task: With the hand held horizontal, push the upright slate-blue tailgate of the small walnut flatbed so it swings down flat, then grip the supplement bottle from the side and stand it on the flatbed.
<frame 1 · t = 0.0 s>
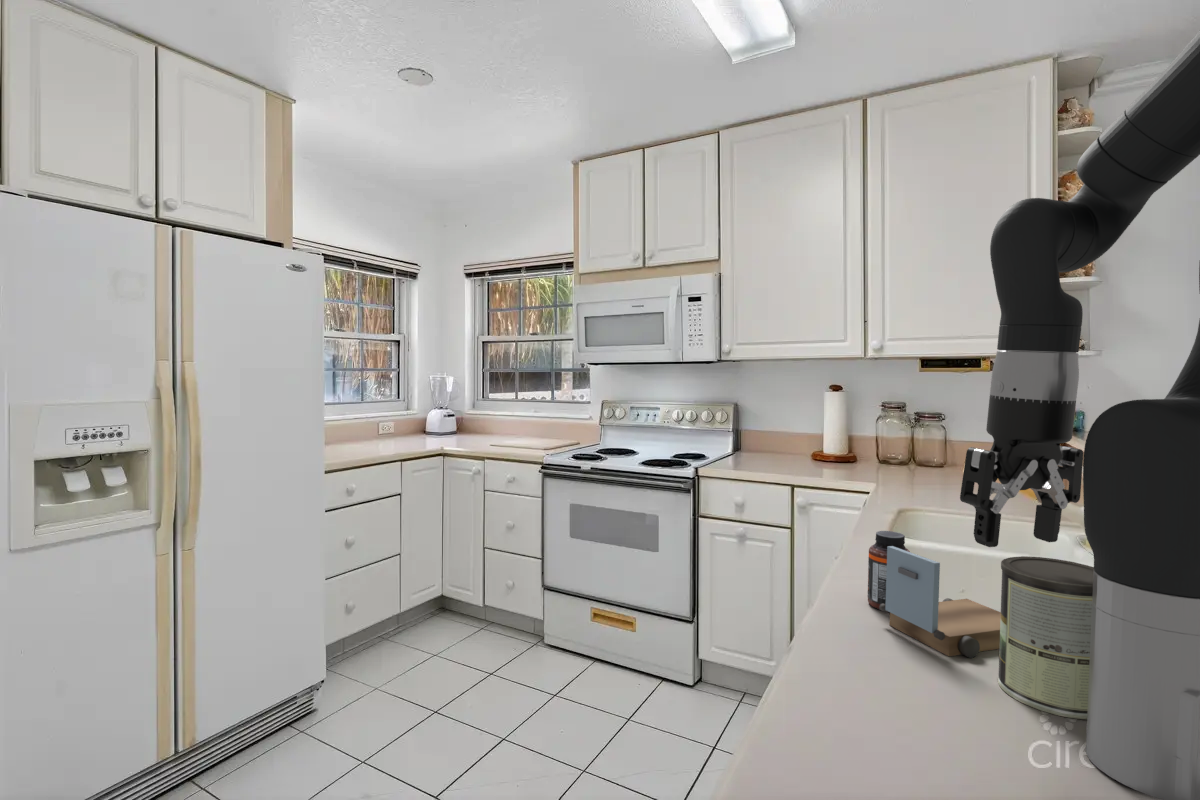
hand: (1016, 542, 66), 17 cm above the counter, tool pointing down, fingers open, 8 cm apart
supplement bottle: (888, 607, 93), on the counter
tailgate: (910, 587, 81), point 7 cm above the counter, hinge at 0.0°
coffee can: (1051, 696, 67), on the counter
flatbed: (958, 634, 83), on the counter
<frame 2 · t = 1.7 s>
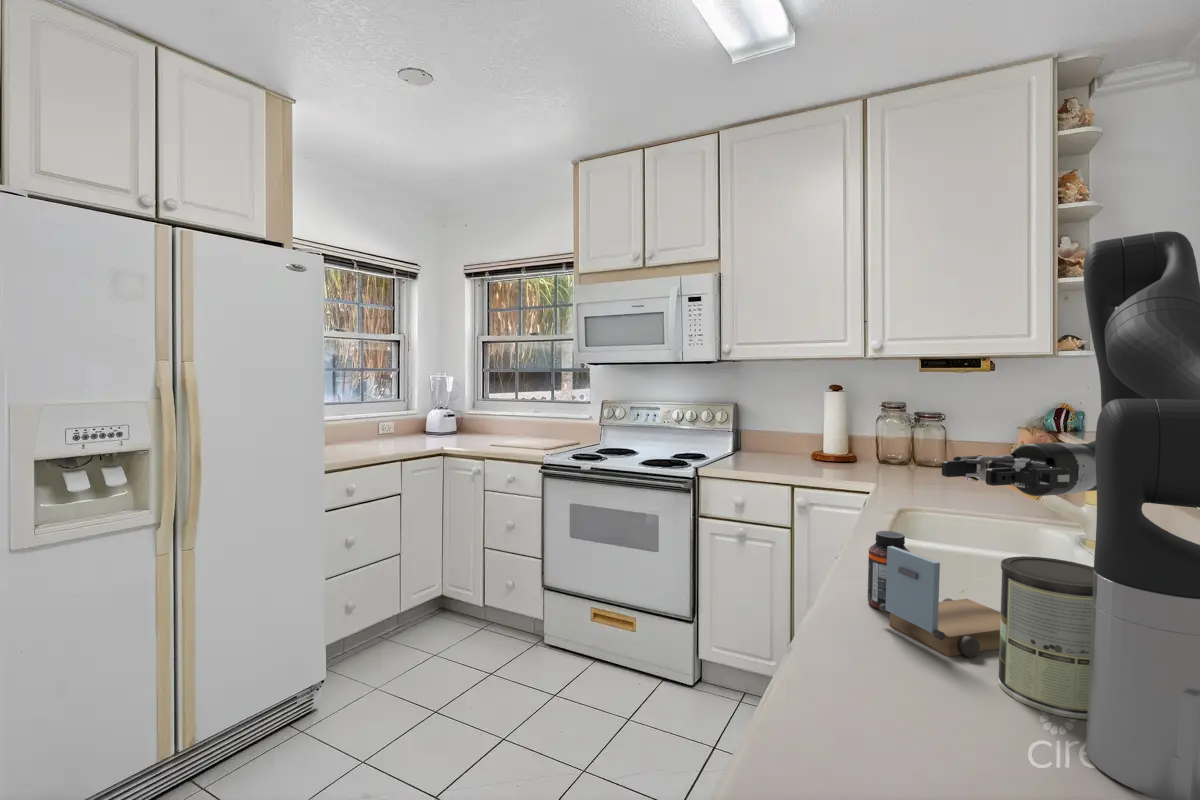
hand: (965, 473, 83), 22 cm above the counter, tool horizontal, fingers open, 6 cm apart
nothing on the counter moved.
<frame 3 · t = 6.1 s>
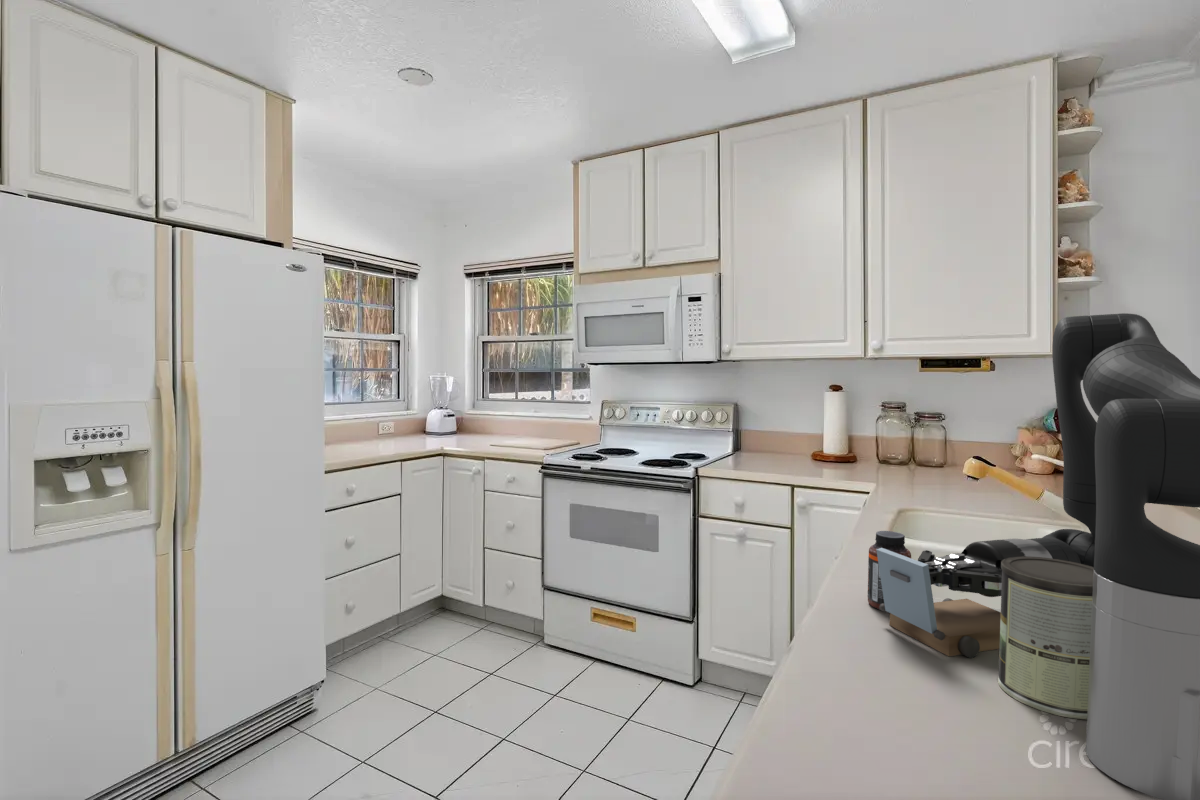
hand: (907, 577, 81), 8 cm above the counter, tool horizontal, fingers closed
tailgate: (904, 589, 81), point 7 cm above the counter, hinge at 12.1°, touching gripper
everything else where it was.
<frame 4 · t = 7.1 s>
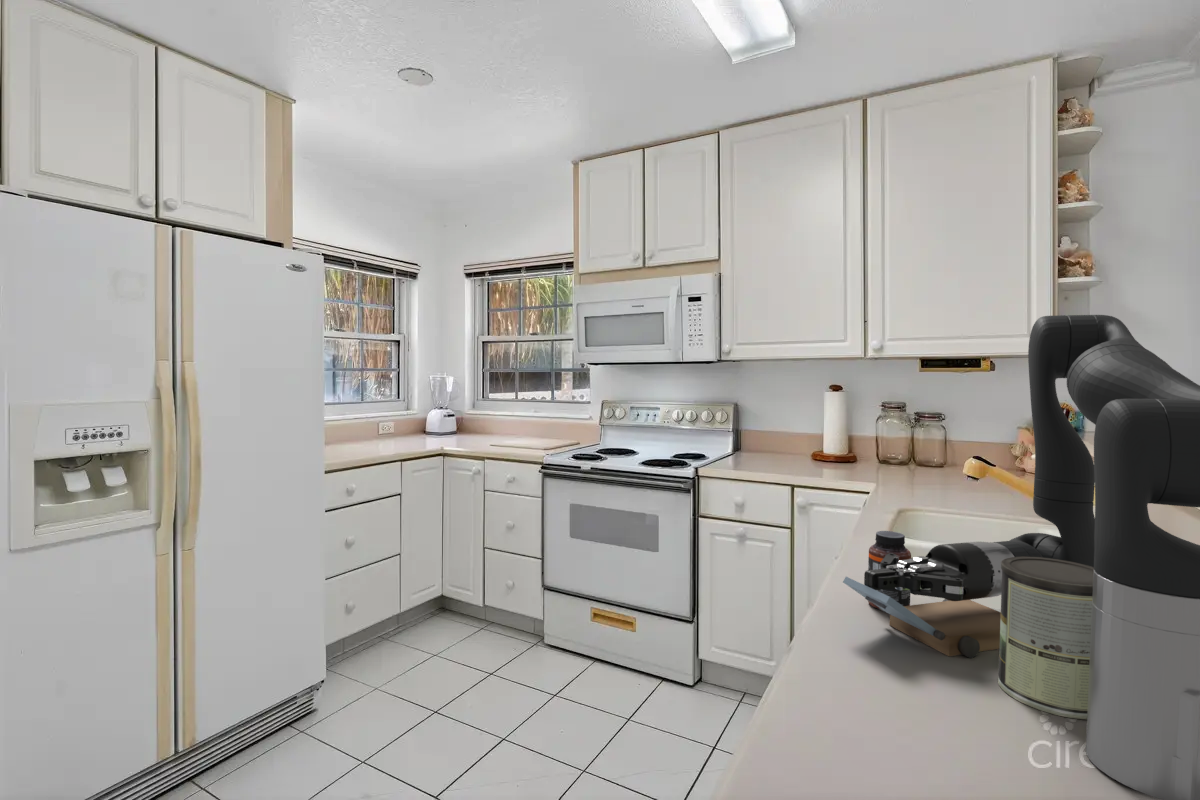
hand: (868, 580, 79), 9 cm above the counter, tool horizontal, fingers closed
tailgate: (887, 606, 80), point 5 cm above the counter, hinge at 56.6°
everything else where it was.
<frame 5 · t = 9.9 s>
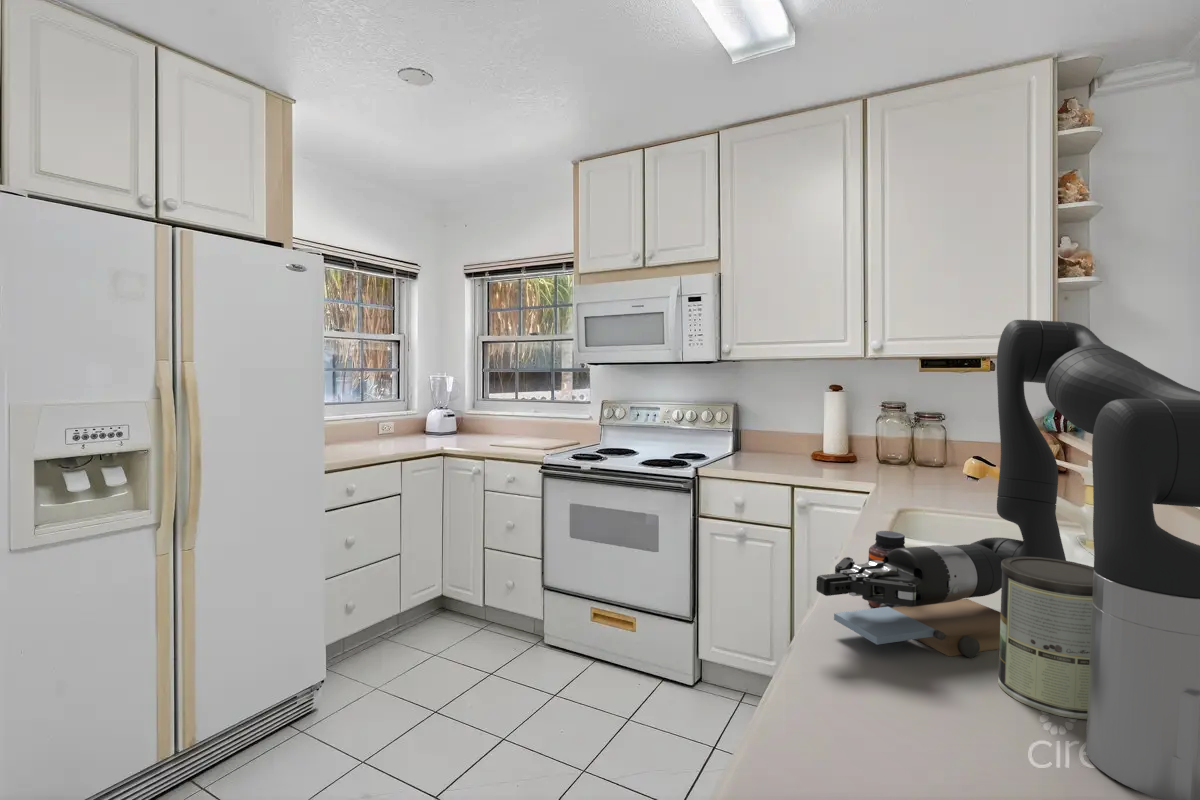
hand: (820, 585, 77), 8 cm above the counter, tool horizontal, fingers closed
tailgate: (882, 625, 80), point 2 cm above the counter, hinge at 90.2°
everything else where it was.
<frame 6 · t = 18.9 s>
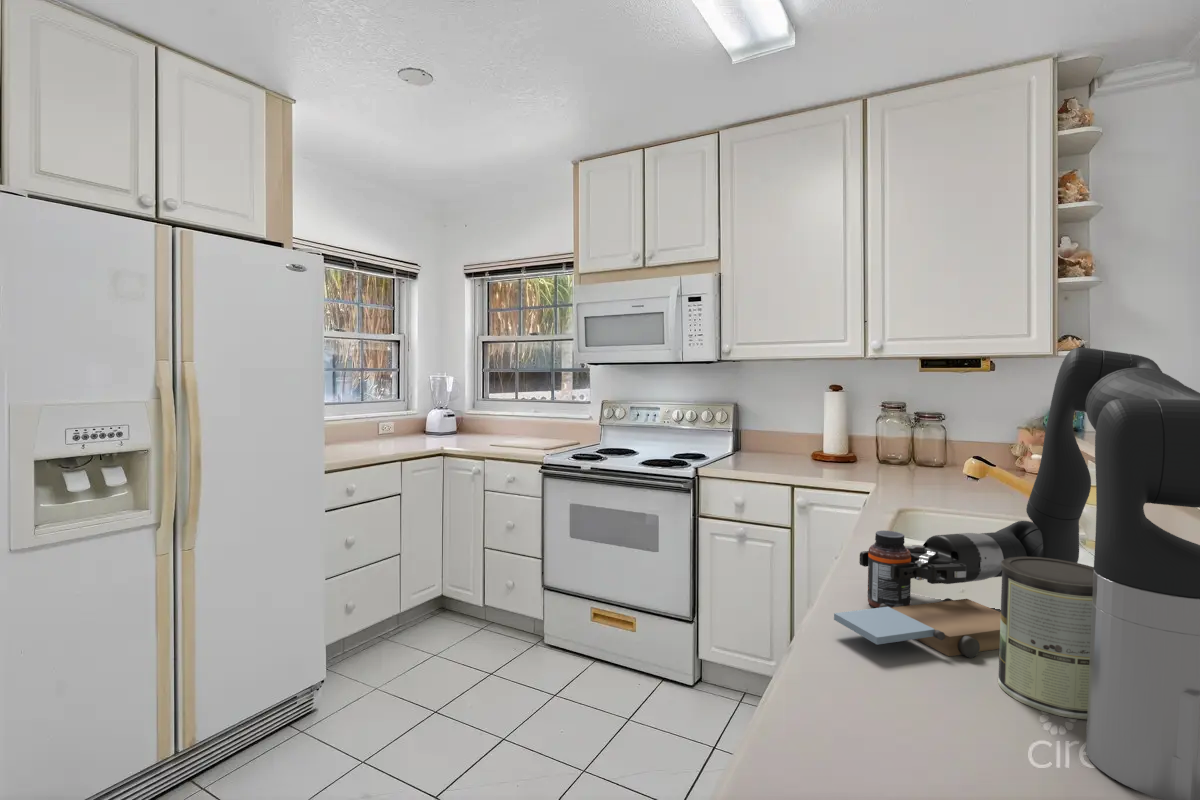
hand: (876, 565, 92), 7 cm above the counter, tool horizontal, fingers closed on supplement bottle, 6 cm apart
supplement bottle: (888, 607, 93), on the counter, touching gripper
everything else where it was.
when the fingers open (10 cm above the counter, at t = 23.5 s): supplement bottle drops 1 cm, resting on flatbed.
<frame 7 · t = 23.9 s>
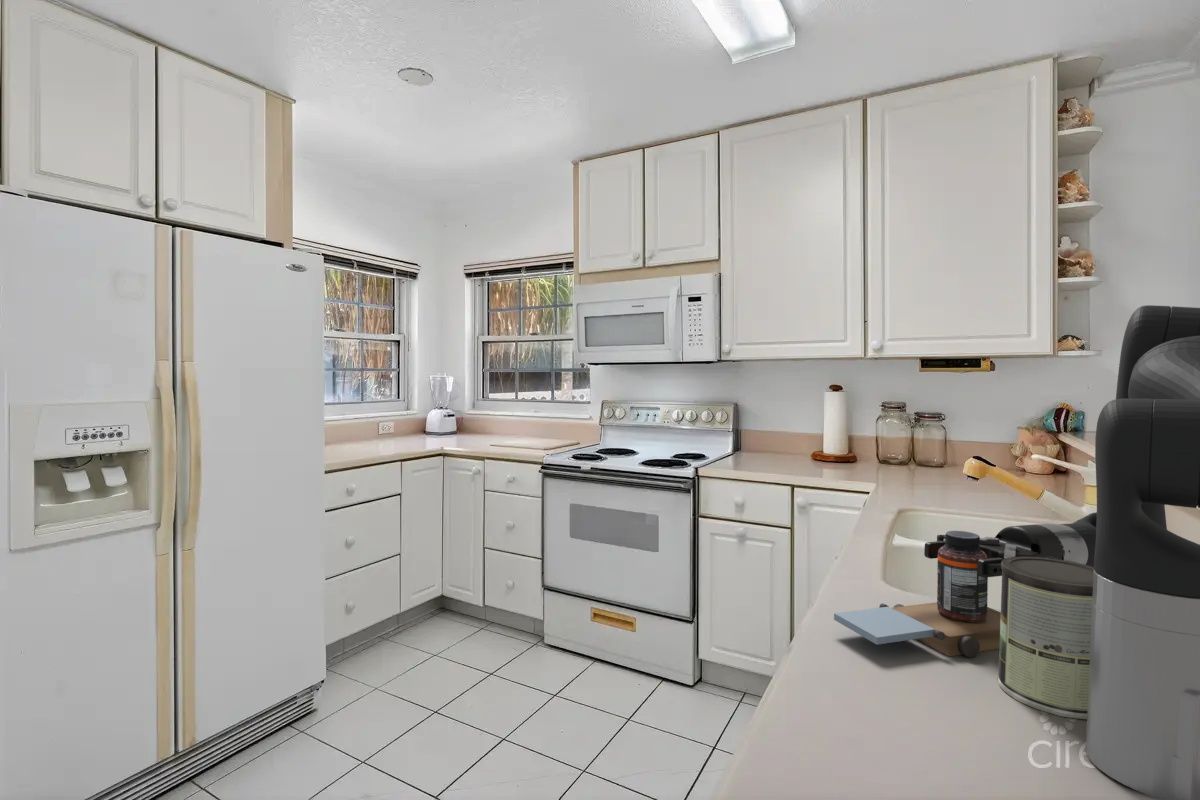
hand: (951, 559, 82), 10 cm above the counter, tool horizontal, fingers open, 8 cm apart
supplement bottle: (961, 616, 83), point 2 cm above the counter, touching flatbed
everything else where it was.
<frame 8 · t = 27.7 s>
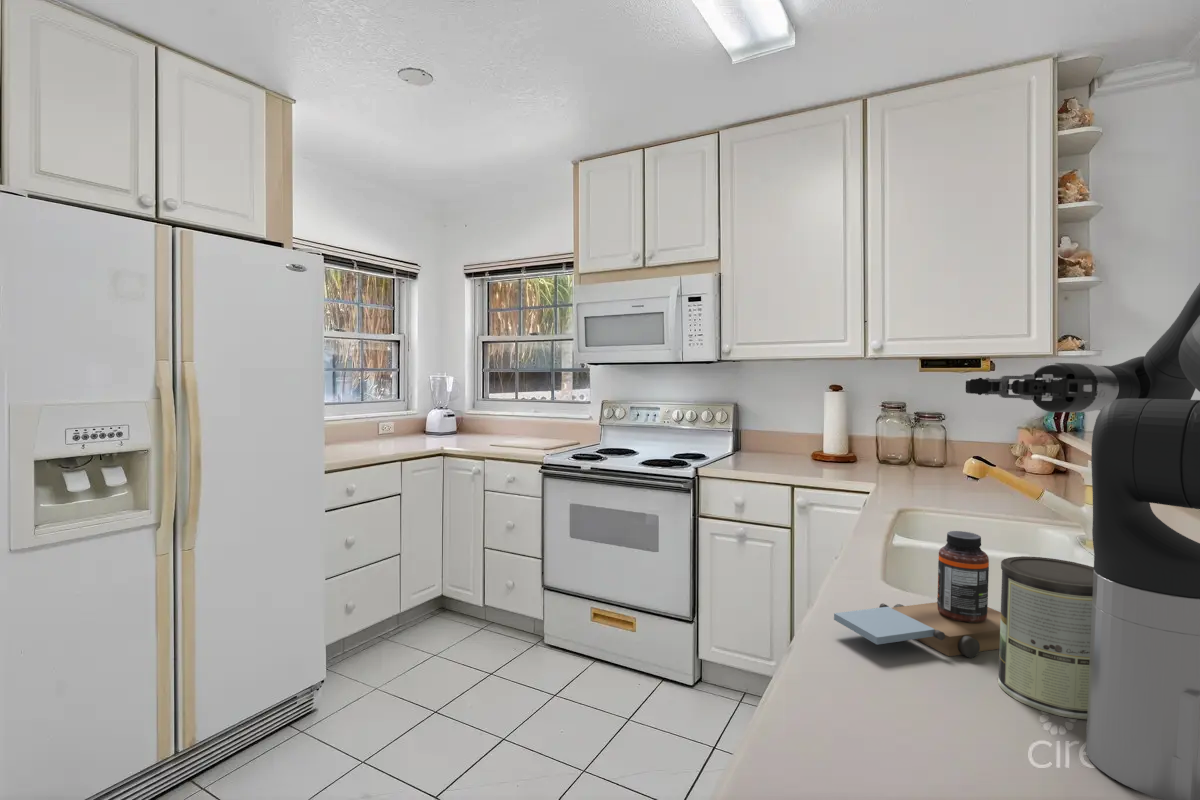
hand: (993, 386, 89), 34 cm above the counter, tool horizontal, fingers open, 8 cm apart
nothing on the counter moved.
at the end: tailgate at +90° (first picture: +0°); supplement bottle inside the target area (0.2 cm from its centre), point 2.3 cm above the counter; supplement bottle tilted 0° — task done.
